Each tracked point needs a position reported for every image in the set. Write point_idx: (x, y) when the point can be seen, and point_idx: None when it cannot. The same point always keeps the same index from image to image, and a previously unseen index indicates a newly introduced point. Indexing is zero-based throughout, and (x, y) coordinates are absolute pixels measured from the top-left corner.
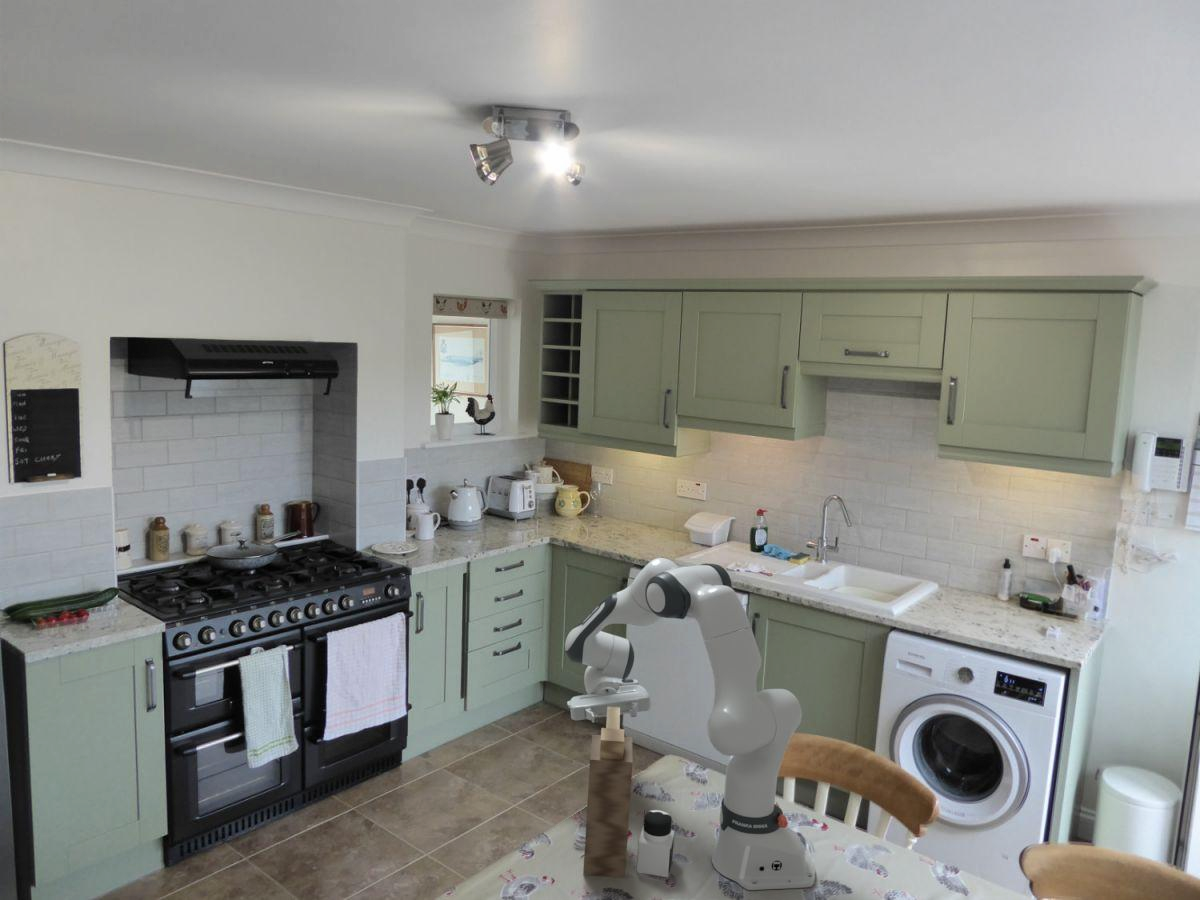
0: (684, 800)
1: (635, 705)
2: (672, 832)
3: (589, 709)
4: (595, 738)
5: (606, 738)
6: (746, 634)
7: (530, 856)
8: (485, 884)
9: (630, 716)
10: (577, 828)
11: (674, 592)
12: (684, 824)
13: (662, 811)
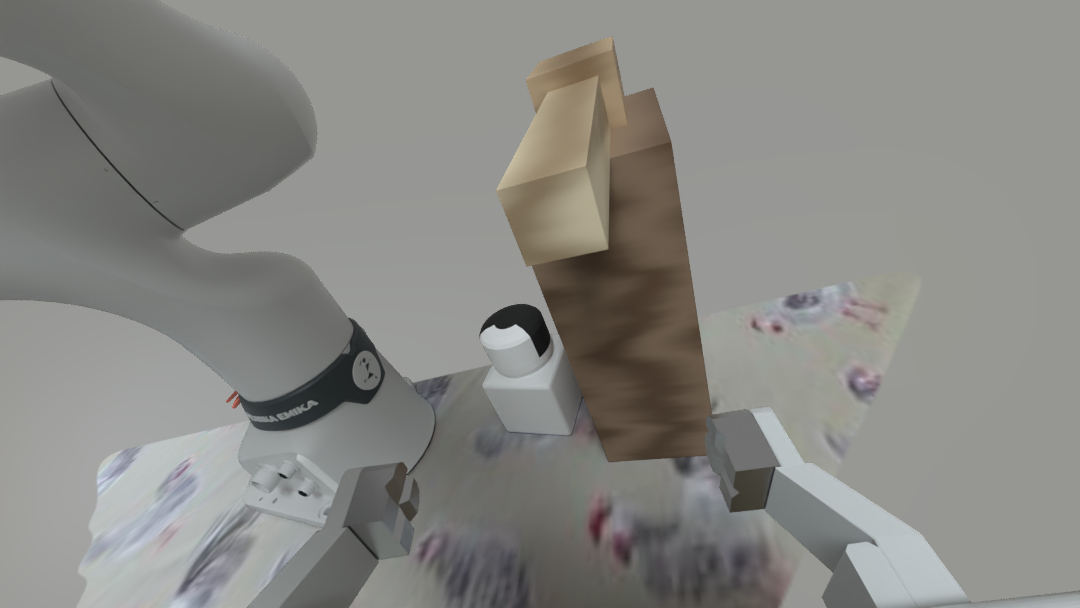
0: None
1: (290, 571)
2: (487, 375)
3: (879, 567)
4: (652, 134)
5: (593, 44)
6: None
7: (852, 376)
8: (898, 283)
9: (415, 507)
10: (769, 528)
11: None
12: (425, 602)
13: (493, 334)
